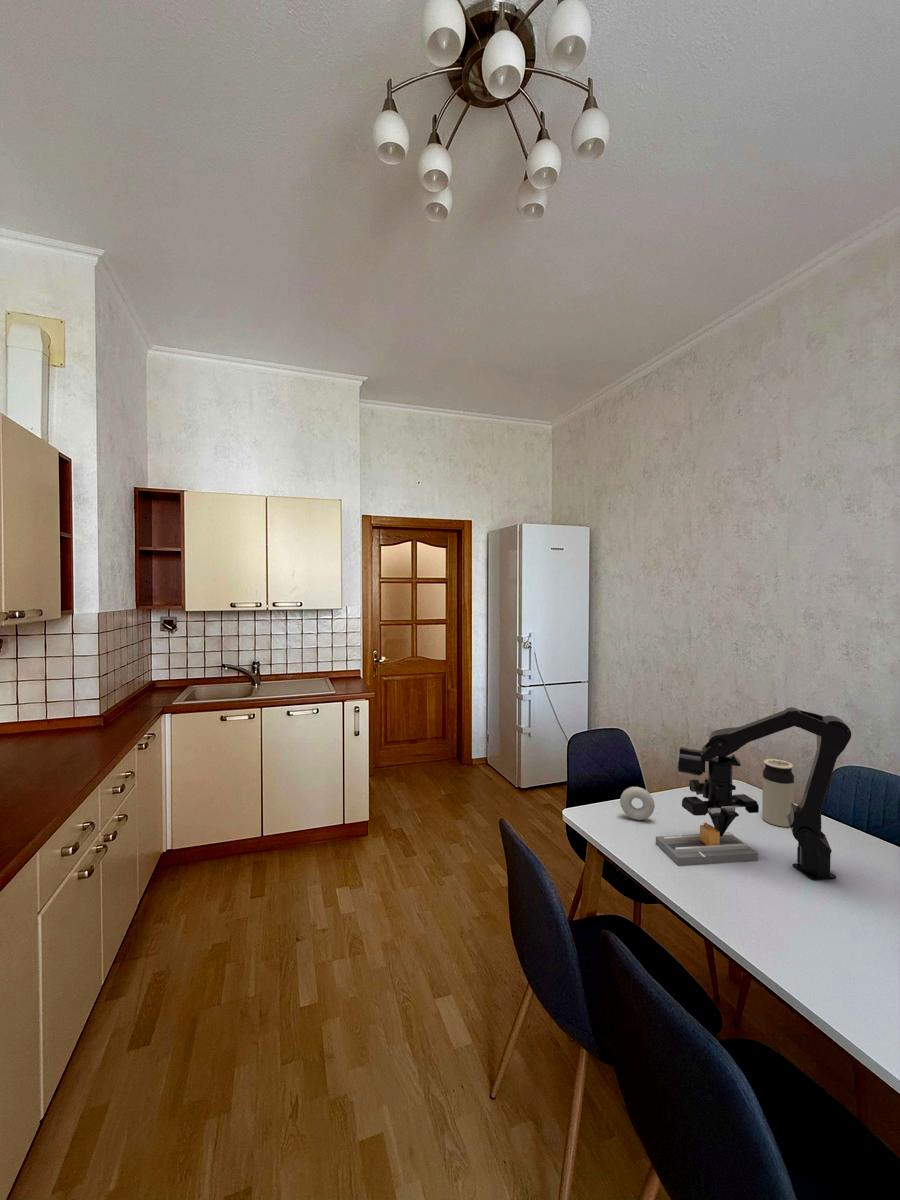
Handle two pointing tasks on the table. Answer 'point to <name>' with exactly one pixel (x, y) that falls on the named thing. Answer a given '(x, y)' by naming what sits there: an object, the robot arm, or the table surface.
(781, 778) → the travel mug
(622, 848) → the table surface
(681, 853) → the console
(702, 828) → the fader cap
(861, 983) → the table surface
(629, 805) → the donut
